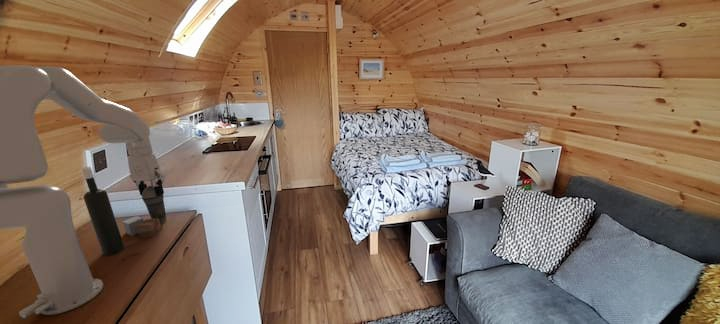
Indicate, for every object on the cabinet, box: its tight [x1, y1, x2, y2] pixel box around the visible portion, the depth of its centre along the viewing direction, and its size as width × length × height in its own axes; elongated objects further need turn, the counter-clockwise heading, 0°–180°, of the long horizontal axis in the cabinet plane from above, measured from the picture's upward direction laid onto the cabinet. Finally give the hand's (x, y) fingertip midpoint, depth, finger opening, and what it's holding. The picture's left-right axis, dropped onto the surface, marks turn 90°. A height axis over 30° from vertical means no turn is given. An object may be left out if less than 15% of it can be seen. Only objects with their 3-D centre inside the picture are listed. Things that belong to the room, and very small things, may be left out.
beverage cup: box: [141, 181, 167, 224], centre depth 119 cm, size 7×7×20 cm
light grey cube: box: [122, 216, 145, 236], centre depth 114 cm, size 5×5×5 cm
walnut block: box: [137, 218, 163, 238], centre depth 111 cm, size 5×5×5 cm
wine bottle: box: [81, 166, 125, 257], centre depth 97 cm, size 6×6×30 cm
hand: (152, 194), depth 118 cm, fingers closed on beverage cup, 6 cm apart
